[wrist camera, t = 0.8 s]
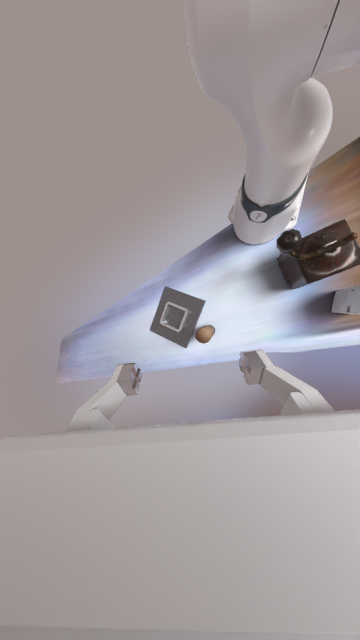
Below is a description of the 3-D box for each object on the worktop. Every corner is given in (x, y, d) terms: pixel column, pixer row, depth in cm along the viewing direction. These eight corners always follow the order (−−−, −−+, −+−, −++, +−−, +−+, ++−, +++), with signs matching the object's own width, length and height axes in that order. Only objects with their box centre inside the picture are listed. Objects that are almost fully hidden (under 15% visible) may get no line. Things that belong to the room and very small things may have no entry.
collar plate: (166, 286, 53) (162, 285, 50) (205, 301, 48) (204, 300, 45) (151, 329, 56) (146, 330, 53) (187, 347, 51) (184, 349, 48)
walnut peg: (206, 323, 49) (198, 325, 37) (216, 327, 47) (213, 332, 36) (201, 333, 49) (193, 339, 38) (212, 338, 48) (207, 345, 37)
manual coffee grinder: (317, 237, 38) (389, 174, 21) (335, 274, 37) (427, 239, 20) (257, 265, 43) (275, 232, 26) (271, 298, 42) (300, 287, 25)
